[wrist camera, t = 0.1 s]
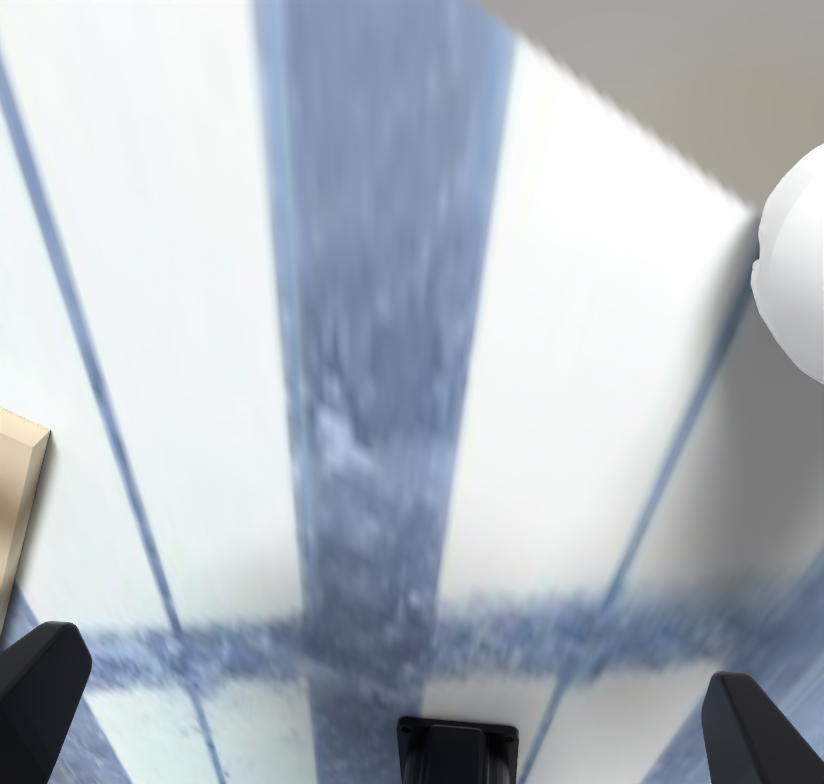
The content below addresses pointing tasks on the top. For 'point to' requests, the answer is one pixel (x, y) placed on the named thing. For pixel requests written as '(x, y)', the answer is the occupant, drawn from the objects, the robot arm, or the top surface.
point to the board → (16, 492)
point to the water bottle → (794, 264)
